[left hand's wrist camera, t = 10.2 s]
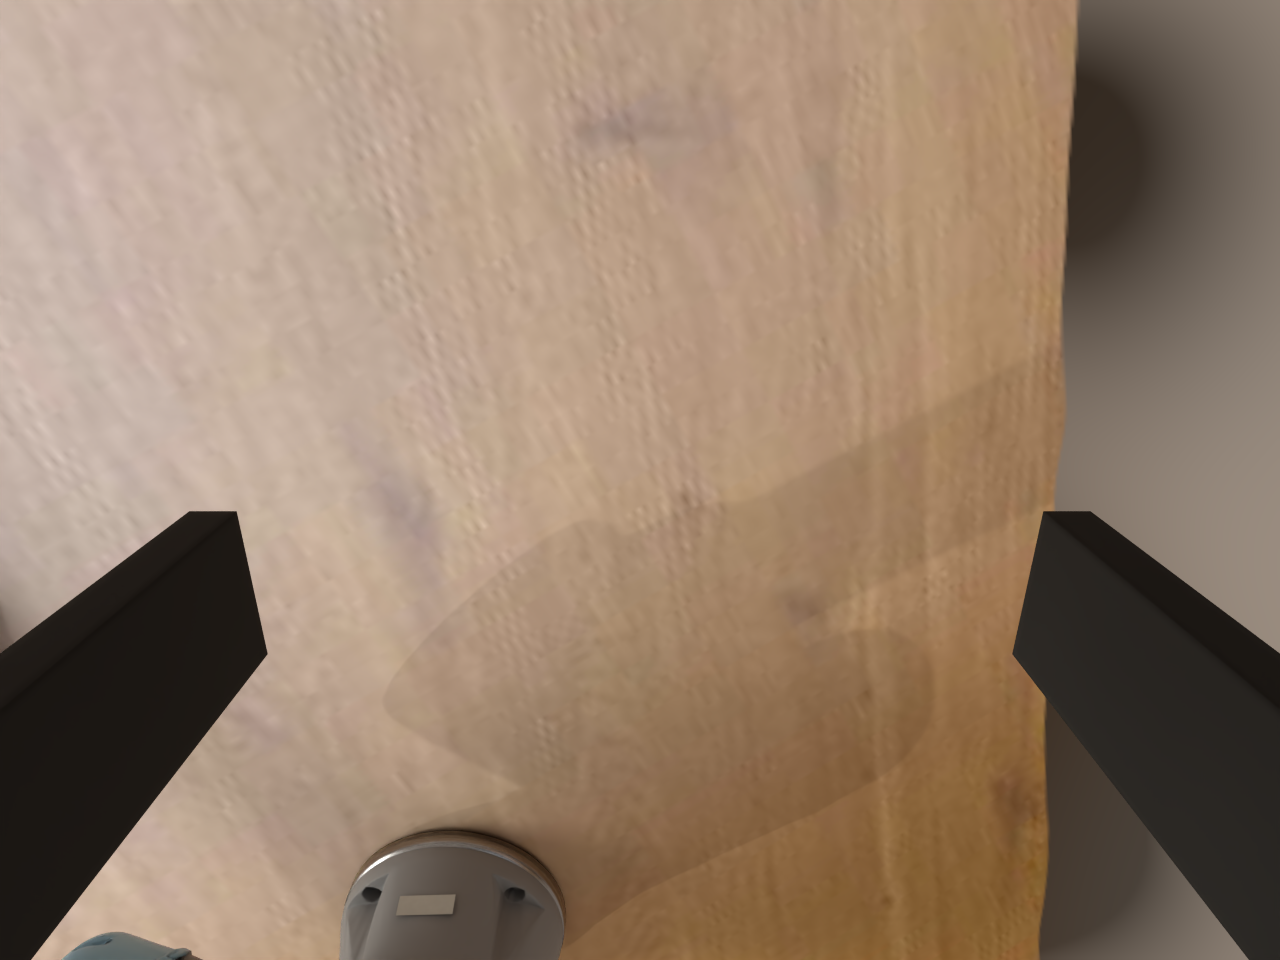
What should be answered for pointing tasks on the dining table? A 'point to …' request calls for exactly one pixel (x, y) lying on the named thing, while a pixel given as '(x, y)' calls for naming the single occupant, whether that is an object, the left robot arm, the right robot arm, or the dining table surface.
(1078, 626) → the left robot arm
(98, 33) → the dining table surface
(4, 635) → the dining table surface
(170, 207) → the dining table surface
